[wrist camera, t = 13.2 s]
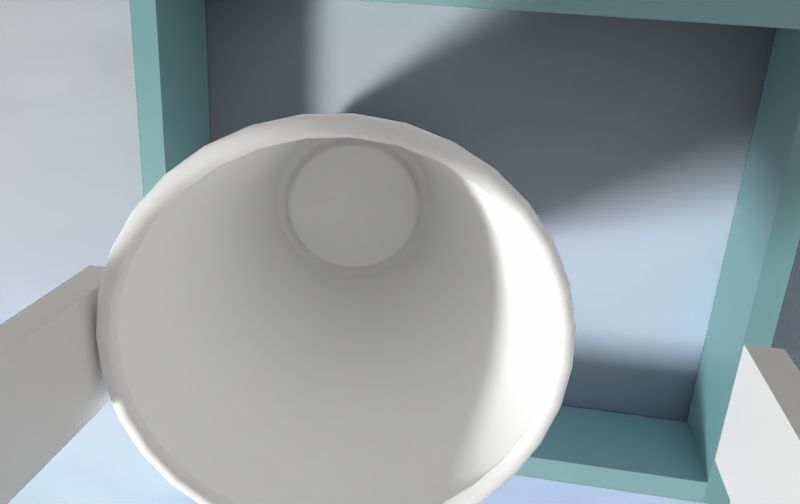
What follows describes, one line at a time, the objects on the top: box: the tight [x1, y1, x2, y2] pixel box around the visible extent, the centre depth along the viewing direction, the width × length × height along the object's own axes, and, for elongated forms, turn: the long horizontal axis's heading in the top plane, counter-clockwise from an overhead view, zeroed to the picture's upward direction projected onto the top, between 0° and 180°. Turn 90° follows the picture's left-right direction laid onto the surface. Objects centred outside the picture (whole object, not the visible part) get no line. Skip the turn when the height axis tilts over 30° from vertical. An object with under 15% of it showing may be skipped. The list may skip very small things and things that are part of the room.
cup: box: [96, 113, 576, 504], centre depth 20 cm, size 10×10×11 cm
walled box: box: [130, 0, 800, 504], centre depth 24 cm, size 16×20×4 cm
